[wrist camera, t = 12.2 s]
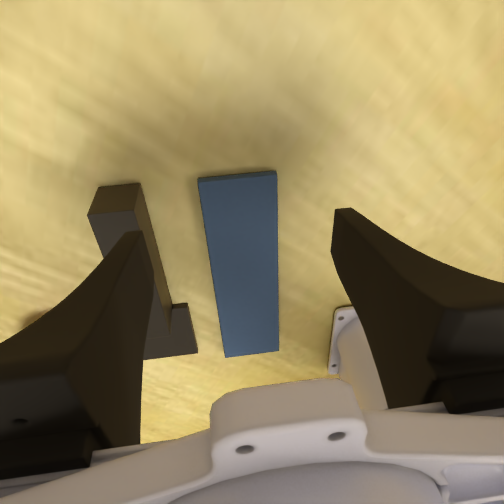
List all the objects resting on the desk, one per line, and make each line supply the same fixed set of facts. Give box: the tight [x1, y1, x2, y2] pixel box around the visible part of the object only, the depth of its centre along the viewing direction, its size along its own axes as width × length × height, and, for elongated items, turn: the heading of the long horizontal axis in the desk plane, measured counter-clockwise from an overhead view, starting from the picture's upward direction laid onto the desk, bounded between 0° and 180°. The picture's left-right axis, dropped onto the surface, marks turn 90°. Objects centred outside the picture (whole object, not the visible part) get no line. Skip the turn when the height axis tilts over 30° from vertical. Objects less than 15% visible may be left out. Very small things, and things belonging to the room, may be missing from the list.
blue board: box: [198, 171, 279, 358], centre depth 29 cm, size 18×5×1 cm, turn 3°
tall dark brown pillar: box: [87, 183, 198, 360], centre depth 28 cm, size 17×5×3 cm, turn 3°
